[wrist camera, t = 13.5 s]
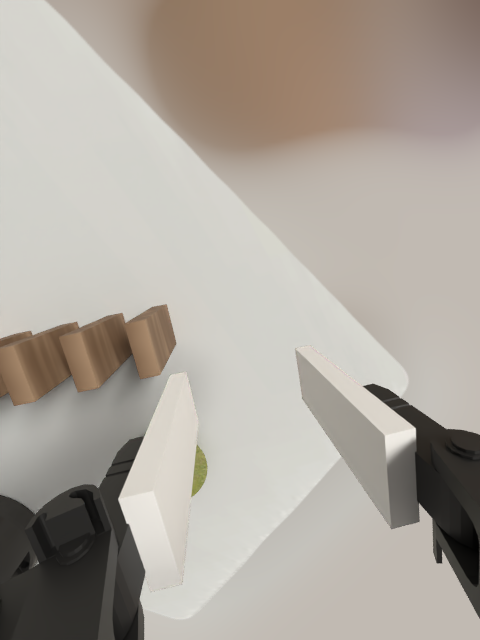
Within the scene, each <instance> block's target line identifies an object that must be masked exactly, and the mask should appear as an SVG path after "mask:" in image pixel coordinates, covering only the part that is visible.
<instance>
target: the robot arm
mask: <svg viewBox="0 0 480 640" xmlns="http://www.w3.org/2000/svg"><path fill="white" fill-rule="evenodd" d="M295 351H296V358H297V365H298V372H299V379H300V385H301V392H302V399H303V400H304V402H305V403H306V405H307V406H308V408H309V409H310V411H311V412H312V414H313V415H314V417H315V418H316V419H317V421H318V422H319V424H320V425H321V427H322V428H323V430H324V431H325V433H326V434H327V436H328V437H329V439H330V440H331V441H332V443H333V444H334V446H335V447H336V449H337V450H338V452H339V453H340V455H341V456H342V457H343V459H344V460H345V462H346V463H347V465H348V466H349V468H350V469H351V471H352V472H353V474H354V475H355V476H356V478H357V479H358V481H359V482H360V484H361V485H362V487H363V488H364V490H365V491H366V493H367V494H368V496H369V497H370V499H371V500H372V502H373V503H374V504H375V506H376V507H377V509H378V510H379V512H380V513H381V515H382V516H383V518H384V519H385V520H386V522H387V524H388V525H389V526H390V528H391V529H394V528H397V527H401V526H405V525H409V524H413V523H417V522H419V503H420V504H421V506H422V507H423V508H424V509H425V510H426V511H427V512H428V514H429V515H430V516H431V517H432V518H433V553H434V556H435V559H436V562H437V563H442V550H443V552H444V553H445V555H446V557H447V559H448V561H449V563H450V565H451V567H452V568H453V570H454V572H455V574H456V576H457V578H458V579H459V581H460V583H461V585H462V587H463V589H464V591H465V592H466V594H467V596H468V598H469V600H470V602H471V603H472V605H473V607H474V609H475V611H476V613H477V615H478V616H479V618H480V435H478V434H476V433H472V432H468V431H464V430H455V429H445V428H444V427H442V426H441V425H439V424H438V423H436V422H435V421H434V420H432V419H431V418H429V417H428V416H426V415H425V414H423V413H422V412H421V411H419V410H418V409H416V408H415V407H413V406H412V405H409V403H407V402H406V401H404V400H403V399H400V398H399V396H397V395H396V394H394V393H393V392H391V391H390V390H389V389H386V388H384V387H381V386H378V385H375V384H370V385H366V386H362V385H360V384H359V383H358V382H356V381H355V380H354V379H353V378H351V377H350V376H349V375H348V374H346V373H345V372H344V371H342V370H341V369H340V368H339V367H337V366H336V365H335V364H334V363H332V362H331V361H330V360H328V359H327V358H326V357H325V356H323V355H322V354H321V353H320V352H318V351H317V350H316V349H314V348H313V347H312V346H311V345H309V346H304V347H299V348H295ZM198 426H199V421H198V417H197V413H196V408H195V404H194V400H193V396H192V392H191V388H190V384H189V380H188V376H187V372H181V373H177V374H172V375H170V377H169V379H168V382H167V384H166V386H165V389H164V391H163V394H162V396H161V398H160V401H159V403H158V405H157V408H156V410H155V413H154V415H153V417H152V420H151V422H150V425H149V427H148V429H147V432H146V434H145V436H144V437H140V438H135V439H131V440H129V441H128V442H127V443H126V444H125V445H124V446H123V447H122V448H121V449H120V450H119V451H118V453H117V455H116V457H115V459H114V461H113V462H112V466H111V467H110V468H109V470H108V472H107V474H106V478H104V479H103V481H102V483H101V485H100V487H99V489H98V488H97V487H96V486H95V485H81V486H78V487H74V488H71V489H69V490H68V491H66V492H64V493H62V494H60V495H58V496H57V497H55V498H54V499H53V500H51V501H50V502H48V503H47V504H46V505H44V506H43V507H42V508H41V509H40V510H39V511H38V512H37V513H36V514H35V515H34V514H33V513H32V512H31V511H30V510H28V509H27V508H26V507H25V506H23V505H22V504H20V503H18V502H16V501H14V500H12V499H9V498H7V497H3V496H0V640H144V614H143V609H142V605H141V602H140V594H141V590H142V585H143V581H144V577H146V580H147V583H148V586H149V589H150V592H154V591H158V590H162V589H166V588H170V587H173V586H177V585H181V584H182V583H183V573H184V563H185V554H186V544H187V534H188V524H189V514H190V504H191V495H192V485H193V475H194V465H195V455H196V446H197V436H198ZM37 560H38V561H39V564H38V565H37V566H35V567H34V565H35V564H36V562H37Z"/></svg>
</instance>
